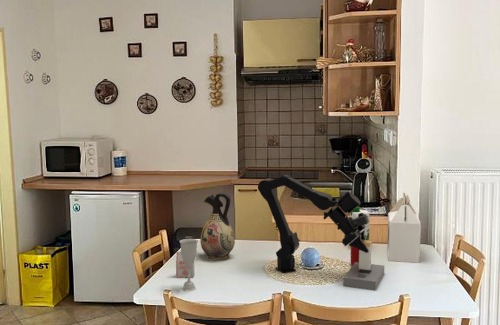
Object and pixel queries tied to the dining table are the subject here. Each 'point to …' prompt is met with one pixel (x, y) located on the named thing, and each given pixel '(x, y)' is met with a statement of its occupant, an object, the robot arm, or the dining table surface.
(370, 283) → the grey socket base
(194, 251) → the chalice
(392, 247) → the gable box
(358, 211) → the milk carton
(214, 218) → the ceramic jug
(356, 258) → the beverage can
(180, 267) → the white red printed box
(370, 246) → the plug
